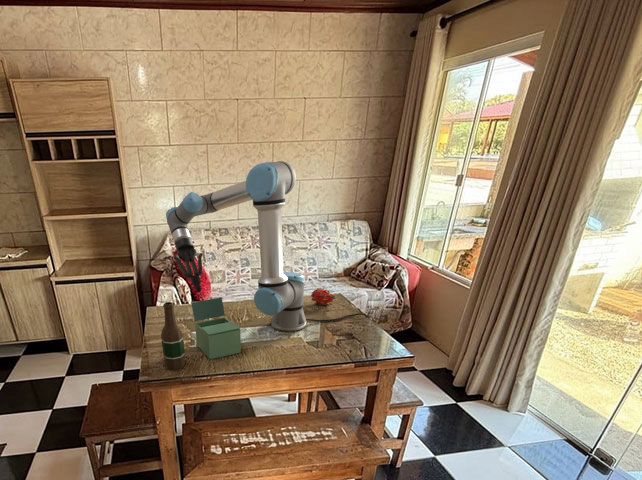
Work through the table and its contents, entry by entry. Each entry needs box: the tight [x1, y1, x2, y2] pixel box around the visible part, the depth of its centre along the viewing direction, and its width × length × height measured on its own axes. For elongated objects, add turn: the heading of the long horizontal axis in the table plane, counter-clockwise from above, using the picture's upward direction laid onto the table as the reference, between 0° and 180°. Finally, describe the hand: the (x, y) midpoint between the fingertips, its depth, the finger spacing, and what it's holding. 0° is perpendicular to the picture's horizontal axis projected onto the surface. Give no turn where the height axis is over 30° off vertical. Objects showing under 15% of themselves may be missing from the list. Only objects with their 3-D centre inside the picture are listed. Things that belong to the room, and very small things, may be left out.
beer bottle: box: [160, 301, 186, 371], centre depth 145 cm, size 8×8×24 cm
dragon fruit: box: [310, 287, 336, 306], centre depth 200 cm, size 8×8×12 cm
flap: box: [190, 296, 226, 322], centre depth 162 cm, size 7×13×1 cm
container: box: [194, 316, 242, 360], centre depth 159 cm, size 15×13×10 cm
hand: (198, 290), depth 168 cm, fingers closed
